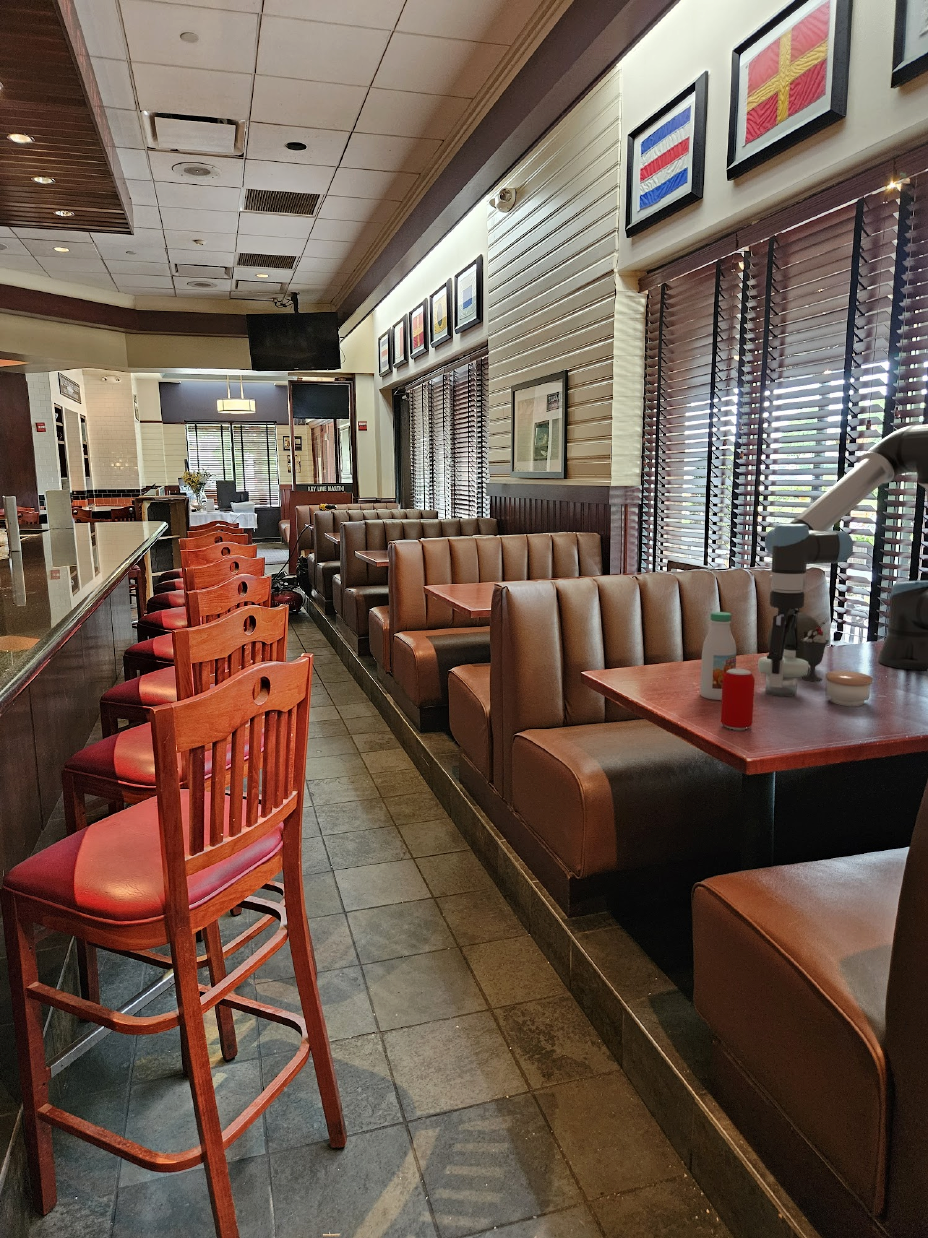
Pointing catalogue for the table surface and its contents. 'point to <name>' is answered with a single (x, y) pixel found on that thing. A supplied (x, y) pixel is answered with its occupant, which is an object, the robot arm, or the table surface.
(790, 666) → the lid
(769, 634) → the cantaloupe
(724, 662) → the milk bottle
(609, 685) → the table surface
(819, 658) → the sundae
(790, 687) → the lid stand
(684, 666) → the table surface
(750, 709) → the beverage can
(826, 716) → the table surface
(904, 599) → the robot arm
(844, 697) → the bowl
